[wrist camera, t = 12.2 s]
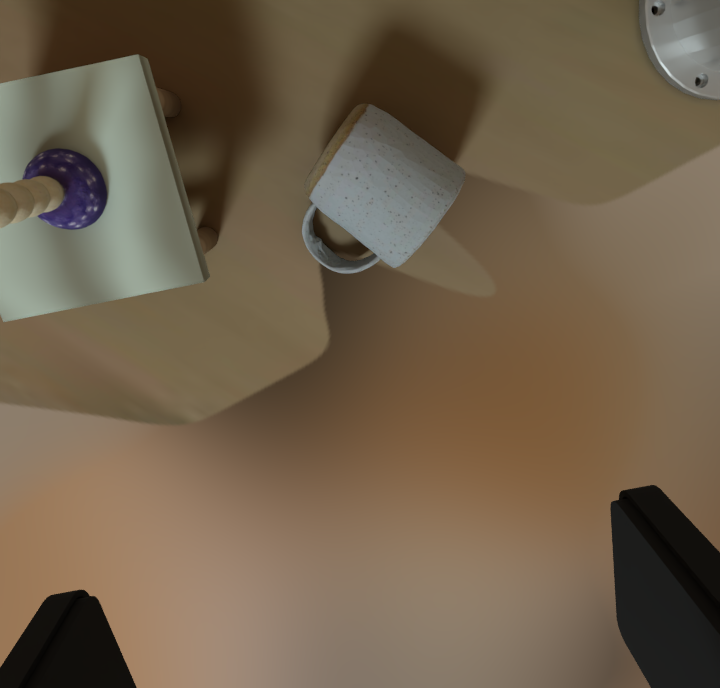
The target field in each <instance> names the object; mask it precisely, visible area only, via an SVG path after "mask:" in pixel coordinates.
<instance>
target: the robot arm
mask: <svg viewBox="0 0 720 688" xmlns="http://www.w3.org/2000/svg"><path fill="white" fill-rule="evenodd" d="M652 8H654V14H652V10H651V9H652ZM639 22H640V29H641V35H642V40H643V43H644V45H645V48H646V51H647V54H648V56H649V58H650V60H651V61H652V63H653V65H654V66H655V68H656V69H657V71H658V72H659V73H660V74H661V75H662V76H663V77H664V78H665V79H666V80H667V81H668V82H669V84H671V85H672V86H674V87H676V88H677V89H679V90H680V91H682V92H683V93H686V94H689V95H692V96H695V97H697V98H702V99H711V100H720V0H639ZM695 79H696V80H697V83H696V85H695ZM611 525H612V542H613V560H614V577H615V595H616V613H617V621H618V626H619V629H620V632H621V635H622V637H623V639H624V641H625V643H626V645H627V647H628V648H629V650H630V652H631V654H632V655H633V657H634V659H635V661H636V662H637V664H638V666H639V667H640V669H641V671H642V673H643V675H644V676H645V678H646V680H647V681H648V683H649V685H650V687H651V688H720V552H719V551H718V550H717V549H716V548H715V547H714V546H713V545H712V544H711V543H710V542H709V541H708V539H707V538H706V537H705V536H704V535H703V534H702V533H701V532H700V531H699V530H698V529H697V528H696V527H695V526H694V525H693V524H692V522H691V521H690V520H689V519H688V518H687V517H686V516H685V515H684V514H683V513H682V512H681V511H680V510H679V509H678V507H677V506H676V505H675V504H674V503H673V502H672V501H671V500H670V499H669V498H668V497H667V496H666V495H665V494H664V493H663V492H662V490H661V489H660V488H658V487H657V486H655V485H650V486H645V487H639V488H634V489H628V490H623V491H621V492H620V495H619V500H616V501H613V502H611ZM0 688H136V685H135V683H134V681H133V678H132V676H131V674H130V672H129V669H128V667H127V665H126V662H125V660H124V658H123V656H122V653H121V651H120V648H119V646H118V644H117V642H116V639H115V637H114V635H113V633H112V630H111V628H110V626H109V623H108V621H107V619H106V616H105V614H104V612H103V610H102V607H101V605H100V603H99V601H98V599H97V598H96V597H95V596H89V594H88V593H87V592H86V591H85V590H77V591H71V592H66V593H60V594H54V595H51V596H49V597H47V598H46V600H45V601H44V602H43V603H42V605H41V606H40V608H39V609H38V611H37V612H36V614H35V615H34V617H33V618H32V620H31V622H30V623H29V625H28V626H27V628H26V629H25V631H24V632H23V634H22V635H21V637H20V638H19V640H18V641H17V643H16V644H15V646H14V648H13V649H12V651H11V652H10V654H9V655H8V657H7V658H6V660H5V661H4V663H3V664H2V666H1V667H0Z"/></svg>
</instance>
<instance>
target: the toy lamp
mask: <svg viewBox="0 0 720 688" xmlns="http://www.w3.org/2000/svg"><path fill="white" fill-rule="evenodd" d="M106 200H107V190H106V184H105V182H104V179H103V176H102V174H101V172H100V171H99V169H98V168H97V167H96V165H95V164H94V163H92V161H91V160H90V159H89V158H87V157H86V156H84V155H82V154H80V153H78V152H75V151H73V150H69V149H60V148H56V149H49V150H46V151H44V152H42V153H40V154H38V155H37V156H35V157H34V158H33V159H32V160H31V161H30V162H29V163H28V165H27V167H26V169H25V171H24V174H23V178H22V180H18V181H15V182H13V183H11V182H7V183H1V184H0V228H3V227H5V226H7V225H8V224H13V223H18V222H21V221H23V220H25V219H27V218H30V217H35V216H38V217H39V218H40V219H41V220H43V221H45V222H46V223H48V224H50V225H52V226H54V227H58V228H62V229H69V230H76V229H82V228H85V227H87V226H89V225H92V224H93V223H95V222H96V221H97V220H98V219H99V218H100V216H101V215H102V214H103V211H104V209H105V207H106Z"/></svg>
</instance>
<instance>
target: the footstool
mask: <svg viewBox="0 0 720 688" xmlns="http://www.w3.org/2000/svg"><path fill="white" fill-rule="evenodd" d="M180 110H181V102H180V99H179V98H178V96H177V95H176V94H174V93H172V92H170V91H166V90H163V89H160V88H157V87H156V86H155V82H154V79H153V75H152V72H151V68H150V65H149V61H148V59H147V58H145V57H143V56H141V55H139V54H137V55H133V56H128V57H123V58H118V59H114V60H109V61H104V62H100V63H95V64H90V65H86V66H81V67H76V68H71V69H67V70H62V71H57V72H53V73H48V74H43V75H39V76H34V77H29V78H24V79H20V80H15V81H10V82H6V83H1V84H0V184H1V183H7V182H11V183H13V182H15V181H18V180H22V178H23V174H24V171H25V169H26V167H27V165H28V163H29V162H30V161H31V160H32V159H33V158H34V157H35V156H37V155H38V154H40V153H42V152H44V151H46V150H49V149H56V148H60V149H69V150H73V151H75V152H78V153H80V154H82V155H84V156H86V157H87V158H89V159H90V160H91V161H92V163H94V164H95V165H96V167H97V168H98V169H99V171H100V172H101V174H102V176H103V179H104V182H105V184H106V190H107V200H106V207H105V209H104V211H103V214H102V215H101V216H100V218H99V219H98V220H97V221H96V222H95V223H93V224H92V225H89V226H87V227H85V228H82V229H76V230H69V229H62V228H58V227H54V226H52V225H50V224H48V223H46V222H45V221H43V220H41V219H40V218H39V217H38V216H35V217H30V218H27V219H25V220H23V221H21V222H18V223H13V224H8V225H7V226H5V227H3V228H0V315H1V317H2V319H3V322H6V321H11V320H16V319H21V318H26V317H31V316H36V315H41V314H46V313H52V312H57V311H62V310H67V309H72V308H77V307H82V306H87V305H92V304H97V303H102V302H107V301H112V300H117V299H122V298H127V297H132V296H137V295H142V294H147V293H152V292H157V291H162V290H167V289H172V288H177V287H182V286H187V285H192V284H197V283H202V282H205V281H206V280H207V279H208V278H209V277H210V275H209V272H208V268H207V265H206V261H205V258H204V254H206V253H207V252H208V251H209V250H211V249H212V248H213V247H214V246H215V245H216V244H217V241H218V237H217V234H216V232H215V231H214V230H213V229H212V228H209V227H202V228H200V229H198V230H196V226H195V223H194V219H193V216H192V212H191V209H190V205H189V202H188V198H187V195H186V191H185V188H184V184H183V181H182V177H181V174H180V170H179V167H178V163H177V160H176V156H175V153H174V149H173V146H172V142H171V139H170V135H169V131H168V128H167V124H166V121H165V117H175V116H176V115H178V113H179V112H180Z"/></svg>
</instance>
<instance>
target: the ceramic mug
mask: <svg viewBox="0 0 720 688" xmlns="http://www.w3.org/2000/svg"><path fill="white" fill-rule="evenodd" d="M464 181H465V171H464V170H463V169H462V168H461V167H460V166H458V165H457V164H455V163H454V162H453V161H451V160H450V159H449V158H447V157H446V156H445V155H443V154H442V153H441V152H439V151H438V150H437V149H435V148H434V147H433V146H431V145H430V144H429V143H427V142H426V141H425V140H423V139H422V138H420V137H419V136H418V135H416V134H415V133H413V132H412V131H411V130H409V129H408V128H407V127H405V126H404V125H403V124H402V123H400V122H399V121H398V120H397V119H395V118H394V117H392V116H391V115H390V114H388V113H387V112H385V111H383V110H381V109H379V108H377V107H375V106H374V105H371V104H368V103H364V104H359V105H357V106H356V107H355V108H354V109H353V110H352V111H351V113H350V114H349V115H348V117H347V118H346V119H345V121H344V122H343V123H342V125H341V126H340V127H339V129H338V130H337V132H336V133H335V135H334V136H333V138H332V139H331V140H330V142H329V143H328V145H327V146H326V148H325V150H324V151H323V153H322V154H321V156H320V158H319V159H318V161H317V162H316V164H315V166H314V167H313V169H312V171H311V172H310V174H309V176H308V178H307V180H306V182H305V192H306V195H307V196H308V197H309V199H310V200H311V201H312V204H311V205H310V207H309V208H308V210H307V212H306V215H305V217H304V220H303V226H302V234H303V239H304V242H305V244H306V247H307V249H308V250H309V252H310V253H311V254H312V255H313V257H314V258H315V259H316V260H317V261H319V262H320V263H321V264H322V265H324V266H325V267H327V268H328V269H330V270H332V271H335V272H338V273H355V272H360V271H362V270H365V269H367V268H369V267H371V266H372V265H374V264H375V263H377V262H378V261H379V260H380V259H382V260H383V261H384V262H385V263H387V264H388V265H390V266H392V267H394V268H395V267H398V266H400V265H401V264H403V263H404V262H405V261H406V260H407V259H408V258H409V257H410V256H412V254H413V253H414V252H415V251H416V250H417V249H418V248H419V247H420V246H421V245H422V243H423V242H424V241H425V240H426V239H427V237H428V236H429V235H430V234H431V232H432V231H433V230H434V229H435V227H436V226H437V224H438V223H439V222H440V220H441V219H442V217H443V216H444V214H445V213H446V212H447V210H448V209H449V208H450V206H451V205H452V203H453V202H454V200H455V199H456V197H457V195H458V194H459V192H460V189H461V186H462V185H463V183H464ZM316 208H318V209H319V210H321V211H322V212H323V213H324V214H325V215H327V216H328V217H329V218H330V219H332V220H333V221H334V222H336V223H337V224H339V225H340V226H342V227H343V228H344V229H345V230H347V231H348V232H349V233H350V234H352V235H353V236H354V237H355V238H356V239H357V240H359V241H360V242H361V243H362V244H363V245H365V246H366V247H367V248H369V249H370V250H371V251H372V252H374V254H372V255H371V256H369V257H366V258H364V259H362V260H357V261H348V260H345V259H343V258H340V257H339V256H337V255H336V254H335V253H334V252H333V251H331V250H330V249H329V248H328V247H327V246H326V245H325V244H324V243H323V242H322V239H321V238H319V237H317V236H315V233H314V230H313V217H314V214H315V211H316Z"/></svg>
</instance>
